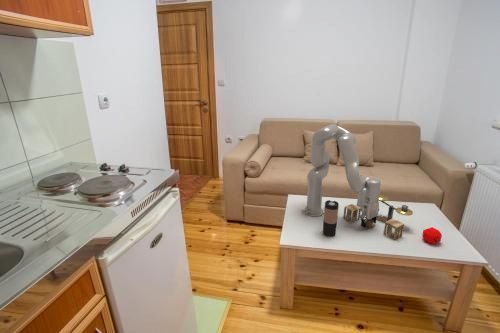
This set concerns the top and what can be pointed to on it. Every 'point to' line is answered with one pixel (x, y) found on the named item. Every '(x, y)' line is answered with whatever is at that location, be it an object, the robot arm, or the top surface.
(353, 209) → the wooden slatted crate
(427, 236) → the ball
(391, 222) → the cover right
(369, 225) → the block
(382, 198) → the balance
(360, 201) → the skincare box
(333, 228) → the travel mug
